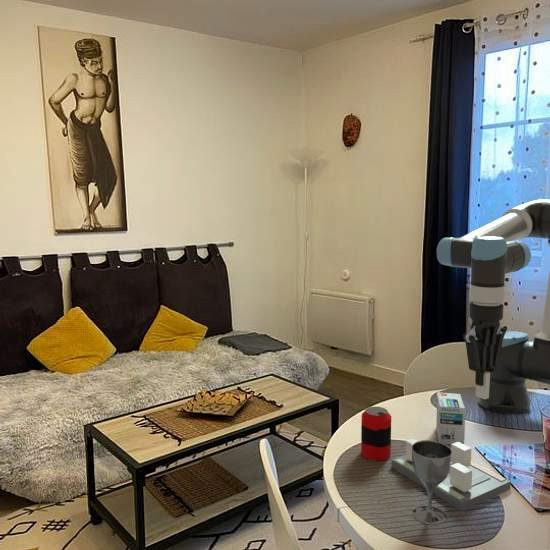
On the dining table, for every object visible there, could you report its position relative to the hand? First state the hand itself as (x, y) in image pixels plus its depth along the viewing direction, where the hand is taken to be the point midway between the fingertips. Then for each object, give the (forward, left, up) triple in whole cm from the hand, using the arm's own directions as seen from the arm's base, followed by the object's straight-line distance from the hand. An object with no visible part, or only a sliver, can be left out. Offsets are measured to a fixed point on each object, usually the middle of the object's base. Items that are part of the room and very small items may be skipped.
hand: (482, 396), depth 134 cm
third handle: (+15, +7, -16) cm, 23 cm away
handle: (+15, -7, -16) cm, 23 cm away
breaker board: (+11, 0, -18) cm, 21 cm away
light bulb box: (-6, -15, -18) cm, 24 cm away
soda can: (+18, -18, -18) cm, 31 cm away
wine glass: (+26, +8, -18) cm, 32 cm away
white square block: (+7, 0, -16) cm, 17 cm away
